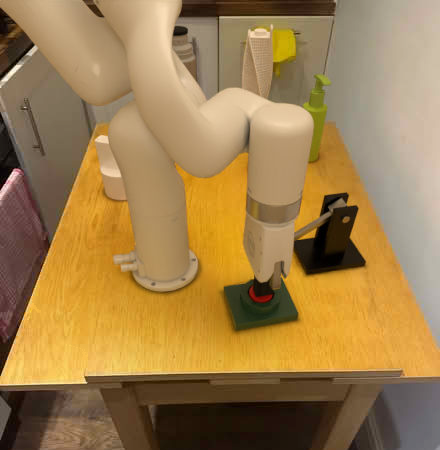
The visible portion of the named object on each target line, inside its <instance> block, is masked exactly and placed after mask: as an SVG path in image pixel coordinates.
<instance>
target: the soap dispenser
mask: <svg viewBox="0 0 440 450" xmlns="http://www.w3.org/2000/svg"><path fill="white" fill-rule="evenodd" d="M313 78H314V79H315V85H314V87H313V88H312V89H310V92H309V99H308V100H309V101H306V102H304V103H303V104H302V108H304V109H305V110H307V111H308V112H309V113H310V114H311V116H312V118H313V122H314V130H313V137H312V143H311V149H310V154H309V160H308V163H313V162H315V161H317V160H318V159H319V153H320V147H321V145H322V144H321V143H322V139H323V133H324V129H325V122H326V118H327V114H328V113H327V112H328V107H329V106H328V105H327V104H326V103H324V101H325V96H326V90H325V89H323V87H325V86H326V87H327V86H331V85H332V82H331V79H329V77H327V76H326V75H325V74H323V73H318V74H317V73H315V74H313Z"/></svg>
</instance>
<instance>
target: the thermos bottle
mask: <svg viewBox="0 0 440 450" xmlns="http://www.w3.org/2000/svg"><path fill="white" fill-rule="evenodd" d="M188 33H189V28H188V27H187V26H183V25H175V27H174V31H173V37H172V49H173V50H174V52H175V53H176V54H177V56H178V57H179V59H180V60H181V61H182V63H183V64H184V65H185V67H186V68H187V70H188V71H189V72H190V74H191V75H192V76H193V78H194V79H195V81H196V82H197V65H196V64H197V61H196V60H197V58H196V55H195V54H194V53H193V52H194V50H193V44H192V43H190V42H189V36H188Z"/></svg>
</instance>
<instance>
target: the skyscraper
mask: <svg viewBox="0 0 440 450" xmlns="http://www.w3.org/2000/svg"><path fill="white" fill-rule="evenodd" d="M269 27H270V28H269V31H267V29H266V28H255V29H254V31H253V30H251V29H250V28H249V29H248V30H247V35H246V36H247V37H246V43H245V47H244V54H243V61H242V62H243V63H242V73H241V89H244V90H247V91H250V92H252V93H254V94H256V95H258V96H260V97H263V98H265V99H267V100H268V97H269V94H270V91H271V85H272V80H273V71H274V50H273V49H274V47H273V32H274V24H273V23H271V24H270V26H269Z"/></svg>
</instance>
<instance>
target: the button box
mask: <svg viewBox="0 0 440 450" xmlns="http://www.w3.org/2000/svg"><path fill="white" fill-rule="evenodd" d="M253 283H254V278H253V279H249V280H248V281H246V282H243V283H242V282H241V283H237V284H236V283H235V284H229V285H225V286H223V296H224V299H225V302H226V305H227V308H228V311H229V314H230V317H231V321H232V323H233V327H234V331H235V332H237V331H242V330H247V329H248V330H249V329H253V328H260V327H265V326H270V325H271V326H272V325H278V324H283V323H287V322H292V321H293V322H294V321H298V318H299V314H300V313H299V311H298V309H297V307H296V305H295V303H294V301H293V298H292V297H291V294H290V292H289V290H288V288H287V286H286V283H285V281H284V279H283V276H281V288H280V289H275V290H274V293H273V296H272V300H270V301H269V302H265V303H259V302H254V301H253V300H252V299H251V298H249V291H250V288H251V287H252V286H253Z"/></svg>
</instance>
